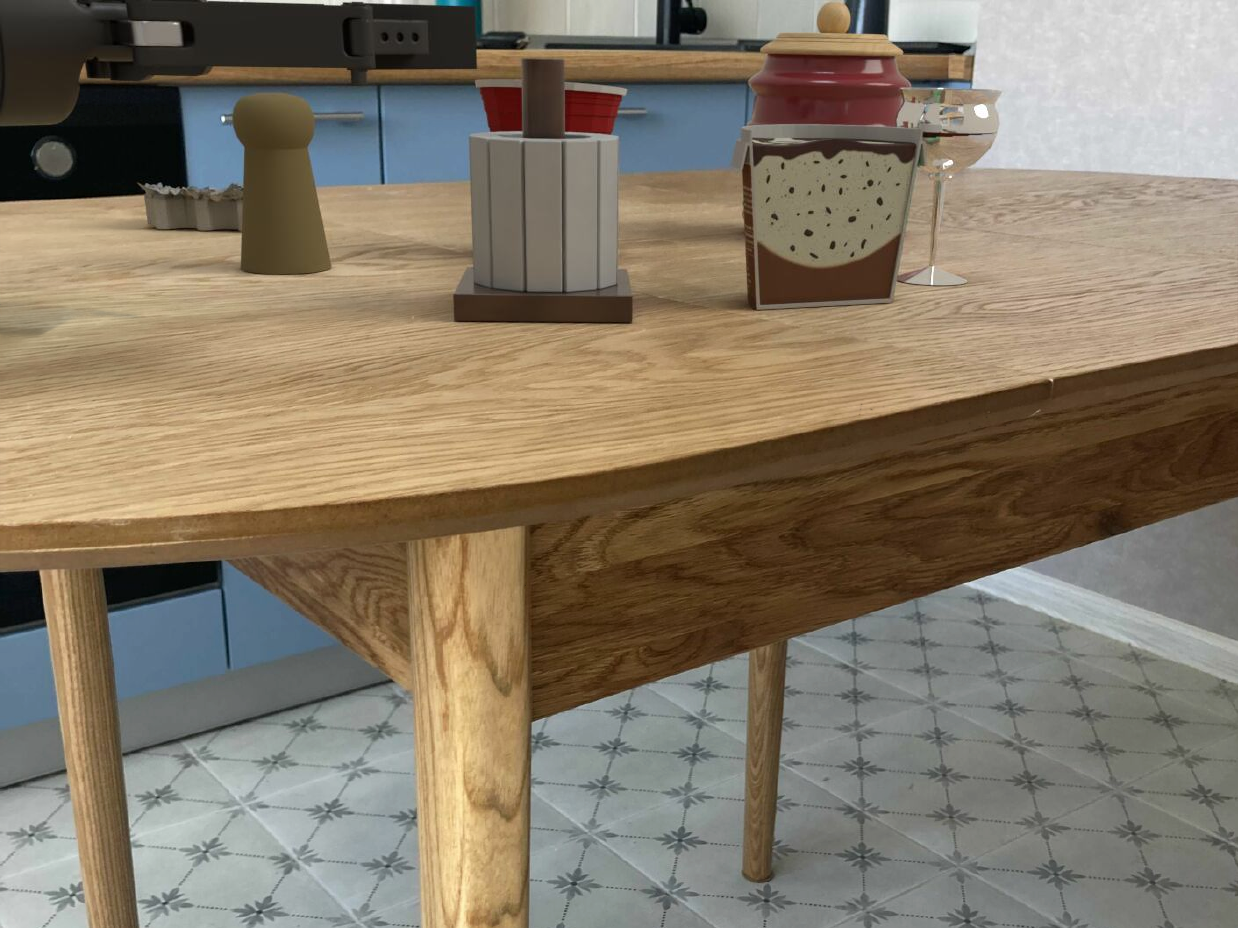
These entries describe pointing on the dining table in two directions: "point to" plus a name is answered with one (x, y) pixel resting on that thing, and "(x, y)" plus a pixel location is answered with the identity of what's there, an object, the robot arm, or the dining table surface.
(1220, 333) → the dining table surface
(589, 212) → the plant pot
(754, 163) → the food container
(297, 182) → the cork
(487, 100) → the plastic cup
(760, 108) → the kitchen canister
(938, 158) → the wineglass
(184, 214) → the egg carton
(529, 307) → the stand
